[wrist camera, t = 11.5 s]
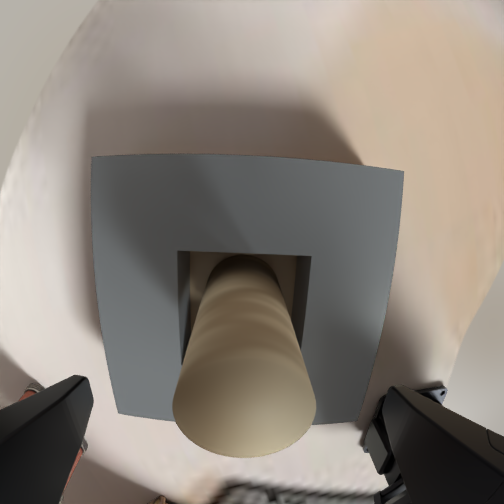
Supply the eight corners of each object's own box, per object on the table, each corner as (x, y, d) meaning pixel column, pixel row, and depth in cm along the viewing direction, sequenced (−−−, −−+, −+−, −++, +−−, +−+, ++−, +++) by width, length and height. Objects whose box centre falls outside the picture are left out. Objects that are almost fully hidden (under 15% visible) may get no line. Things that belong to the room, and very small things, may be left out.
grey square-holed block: (368, 171, 17) (404, 171, 13) (338, 379, 21) (357, 421, 16) (125, 160, 17) (91, 156, 12) (137, 372, 20) (118, 413, 16)
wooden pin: (281, 255, 17) (327, 357, 8) (276, 322, 18) (305, 456, 9) (206, 253, 17) (166, 352, 7) (206, 320, 18) (178, 453, 8)
